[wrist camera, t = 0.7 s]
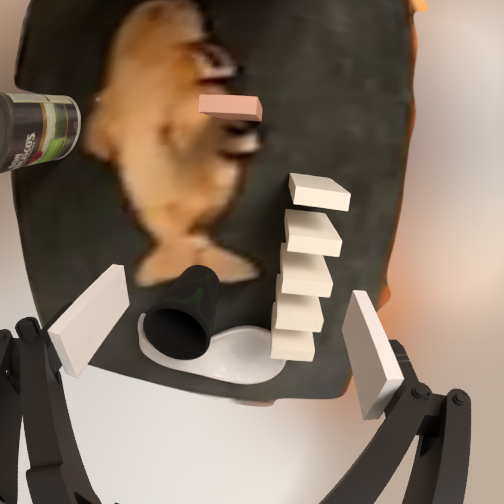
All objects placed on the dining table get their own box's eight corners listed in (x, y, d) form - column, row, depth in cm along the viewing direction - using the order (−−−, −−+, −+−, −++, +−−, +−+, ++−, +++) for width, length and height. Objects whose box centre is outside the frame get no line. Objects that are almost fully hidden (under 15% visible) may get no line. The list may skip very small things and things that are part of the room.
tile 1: (289, 172, 34) (295, 186, 24) (330, 178, 33) (350, 194, 24) (288, 185, 34) (293, 204, 25) (328, 191, 34) (347, 211, 25)
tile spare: (220, 106, 31) (199, 94, 22) (262, 108, 31) (257, 96, 22) (219, 118, 32) (198, 111, 22) (261, 121, 32) (255, 114, 22)
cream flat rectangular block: (273, 301, 41) (271, 348, 31) (307, 305, 40) (314, 351, 31) (271, 311, 41) (270, 358, 32) (305, 314, 41) (312, 361, 32)
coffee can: (92, 127, 33) (21, 133, 20) (54, 173, 35) (-12, 194, 22) (64, 81, 30) (-4, 75, 17) (29, 127, 33) (-35, 137, 20)
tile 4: (277, 273, 39) (277, 316, 30) (313, 277, 39) (323, 320, 29) (275, 284, 39) (275, 328, 30) (311, 287, 39) (320, 332, 30)
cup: (183, 308, 42) (157, 361, 31) (167, 262, 40) (132, 308, 28) (232, 302, 41) (218, 359, 30) (219, 253, 38) (197, 301, 27)
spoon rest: (293, 318, 42) (295, 350, 35) (279, 372, 46) (278, 404, 40) (140, 293, 42) (121, 319, 36) (146, 348, 47) (131, 376, 40)
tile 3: (281, 242, 37) (283, 278, 28) (319, 246, 37) (332, 283, 28) (279, 253, 38) (281, 292, 29) (317, 258, 38) (329, 297, 28)
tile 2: (285, 208, 35) (289, 234, 26) (325, 213, 35) (342, 241, 26) (284, 221, 36) (287, 251, 27) (323, 225, 36) (338, 256, 27)
